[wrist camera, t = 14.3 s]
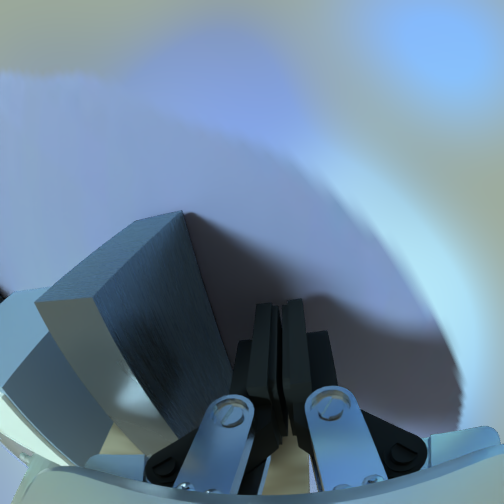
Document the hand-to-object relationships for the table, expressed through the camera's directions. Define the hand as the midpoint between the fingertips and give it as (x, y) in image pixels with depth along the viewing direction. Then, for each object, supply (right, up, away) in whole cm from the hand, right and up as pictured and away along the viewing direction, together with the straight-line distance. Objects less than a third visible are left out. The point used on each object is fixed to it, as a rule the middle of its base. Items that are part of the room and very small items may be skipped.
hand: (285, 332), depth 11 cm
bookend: (-4, 0, +2) cm, 4 cm away
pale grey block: (-12, -1, +3) cm, 12 cm away
